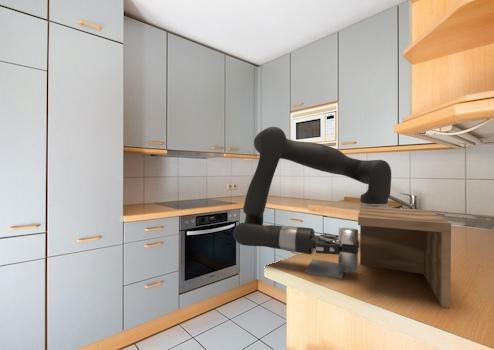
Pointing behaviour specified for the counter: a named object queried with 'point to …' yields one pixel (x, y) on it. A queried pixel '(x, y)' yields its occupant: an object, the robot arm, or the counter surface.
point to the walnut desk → (408, 244)
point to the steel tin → (348, 260)
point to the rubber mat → (324, 269)
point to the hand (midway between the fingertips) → (358, 246)
